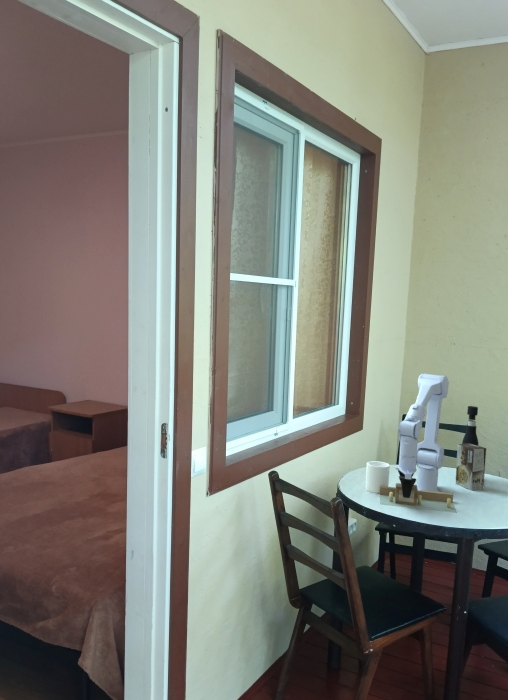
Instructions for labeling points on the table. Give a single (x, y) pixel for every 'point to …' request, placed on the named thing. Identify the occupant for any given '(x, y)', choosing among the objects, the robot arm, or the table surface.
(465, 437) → the wine bottle
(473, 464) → the coffee box
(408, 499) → the frame
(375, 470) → the mug
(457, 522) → the table surface
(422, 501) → the board
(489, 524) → the table surface
